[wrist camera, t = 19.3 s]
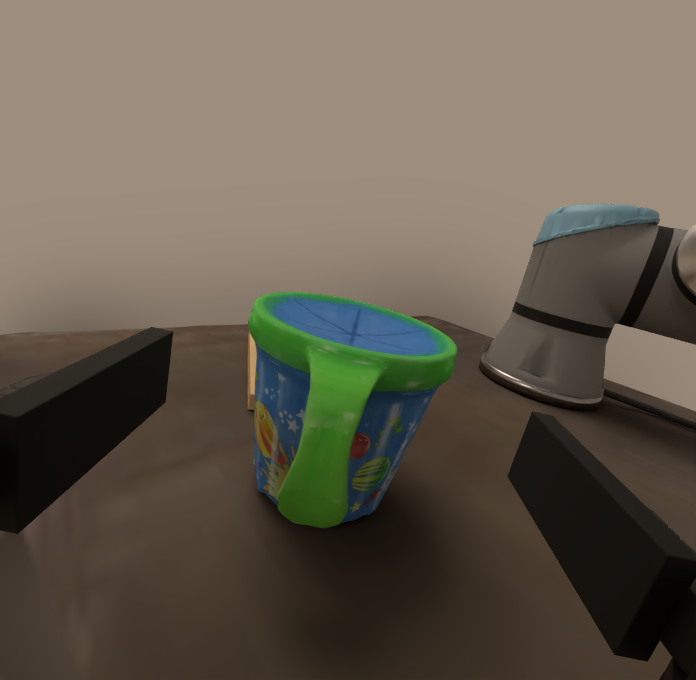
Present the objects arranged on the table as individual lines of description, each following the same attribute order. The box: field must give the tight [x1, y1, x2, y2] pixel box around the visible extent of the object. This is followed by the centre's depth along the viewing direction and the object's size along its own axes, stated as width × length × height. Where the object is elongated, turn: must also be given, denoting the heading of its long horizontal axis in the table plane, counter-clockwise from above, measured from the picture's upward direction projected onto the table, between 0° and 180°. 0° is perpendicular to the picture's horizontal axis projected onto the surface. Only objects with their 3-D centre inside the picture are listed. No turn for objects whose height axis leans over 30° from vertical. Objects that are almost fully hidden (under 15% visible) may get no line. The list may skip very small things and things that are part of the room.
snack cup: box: [248, 292, 457, 528], centre depth 22 cm, size 16×10×10 cm
